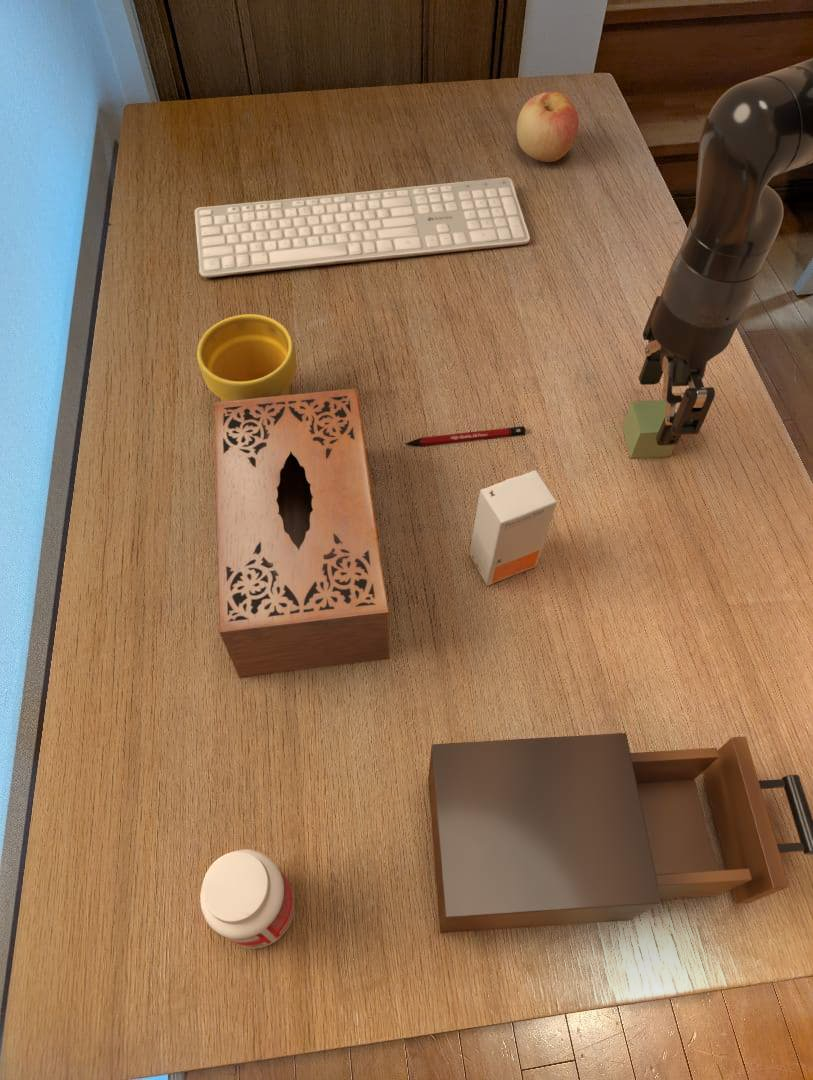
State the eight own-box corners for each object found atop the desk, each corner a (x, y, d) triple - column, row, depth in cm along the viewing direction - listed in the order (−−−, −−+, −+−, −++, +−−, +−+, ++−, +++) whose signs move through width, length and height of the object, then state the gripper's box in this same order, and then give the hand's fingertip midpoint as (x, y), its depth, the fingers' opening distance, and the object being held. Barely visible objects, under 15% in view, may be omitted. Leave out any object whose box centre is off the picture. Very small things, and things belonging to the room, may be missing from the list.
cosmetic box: (486, 588, 83) (499, 524, 73) (468, 555, 85) (477, 488, 75) (539, 567, 84) (558, 501, 74) (519, 535, 87) (536, 467, 76)
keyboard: (201, 282, 106) (197, 267, 104) (197, 221, 113) (193, 206, 111) (530, 246, 111) (533, 231, 109) (509, 189, 117) (511, 174, 115)
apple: (558, 132, 125) (567, 79, 118) (582, 166, 120) (593, 113, 113) (504, 142, 123) (510, 89, 116) (526, 177, 119) (534, 124, 112)
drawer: (766, 761, 73) (802, 732, 67) (806, 899, 67) (851, 882, 61) (553, 774, 72) (568, 746, 66) (575, 914, 66) (594, 900, 60)
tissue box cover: (231, 462, 91) (214, 402, 83) (360, 448, 92) (356, 388, 84) (239, 677, 78) (219, 632, 69) (389, 658, 79) (388, 611, 70)
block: (660, 425, 95) (671, 399, 91) (669, 456, 92) (681, 431, 88) (622, 427, 94) (631, 401, 91) (630, 458, 92) (640, 433, 88)
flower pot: (196, 423, 94) (176, 363, 86) (243, 364, 99) (229, 301, 91) (274, 455, 92) (262, 396, 84) (318, 392, 97) (311, 330, 88)
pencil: (403, 443, 93) (403, 438, 92) (522, 430, 94) (524, 424, 94) (404, 449, 93) (404, 444, 92) (524, 436, 94) (525, 430, 93)
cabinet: (601, 767, 74) (626, 732, 65) (629, 920, 67) (661, 903, 59) (428, 777, 73) (431, 744, 65) (439, 933, 66) (445, 917, 58)
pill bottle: (274, 853, 70) (255, 823, 60) (309, 920, 67) (294, 900, 57) (207, 895, 68) (176, 870, 58) (240, 966, 65) (213, 952, 56)
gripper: (767, 351, 72) (707, 462, 85) (724, 242, 79) (675, 361, 93) (683, 354, 71) (636, 465, 85) (647, 245, 79) (609, 364, 92)
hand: (656, 411), depth 89 cm, fingers open, 8 cm apart
